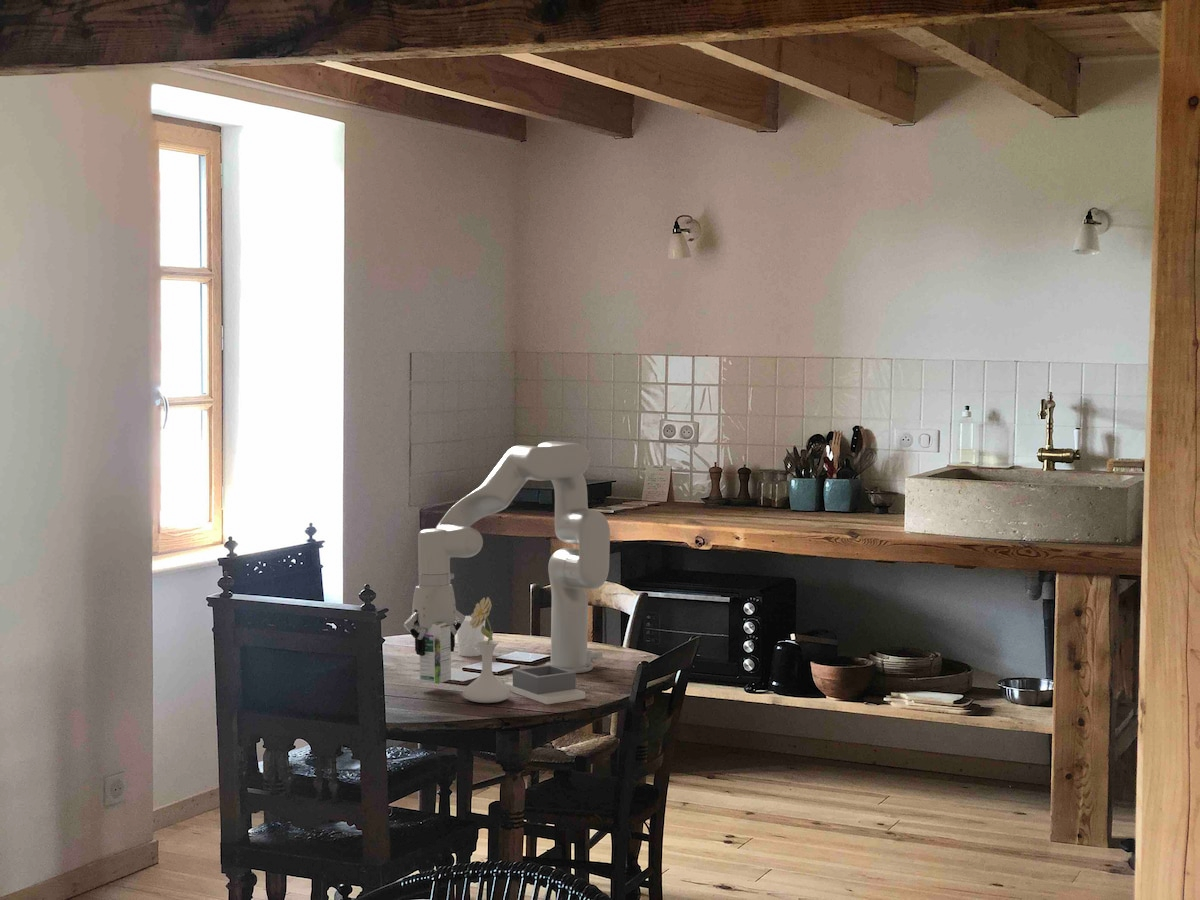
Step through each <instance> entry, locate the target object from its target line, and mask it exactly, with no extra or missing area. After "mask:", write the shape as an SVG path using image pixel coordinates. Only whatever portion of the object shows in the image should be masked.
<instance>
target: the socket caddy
mask: <svg viewBox="0 0 1200 900" xmlns="http://www.w3.org/2000/svg"><path fill="white" fill-rule="evenodd" d="M576 676H577V673H576V672H572V671H569V670H566V669H563V668H560V667H557V666H554V665H545V664H544V665H537V666H528V667H521V668H513V669H512V681H507V682H503V684H504V685H505V686H506V687H507V688H508V689H509V690H510V692H511V693H514V694H517V695H520V696H522V697H525V698H528V699H530V700H533V701H536V702H539V703H542V704H544V705H551V704H558V703H559V704H560V703H565V702H570V701H578V700H584V699H586V692H585V691H582V690H580V689H577V688H576V685H577V683H576V682H577V681H576V678H577V677H576Z"/></svg>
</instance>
